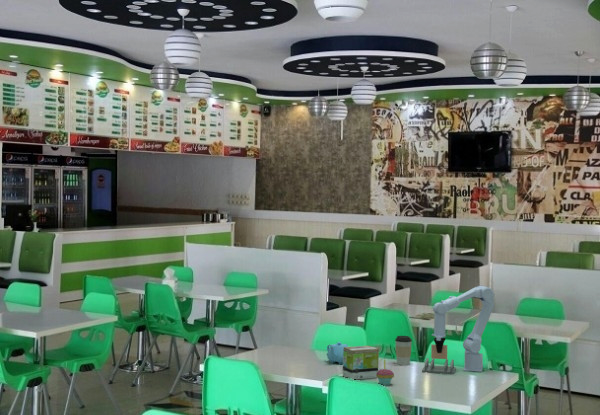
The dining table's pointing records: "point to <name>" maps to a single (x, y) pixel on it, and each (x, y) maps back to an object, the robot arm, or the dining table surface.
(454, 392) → the dining table surface
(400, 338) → the coffee cup
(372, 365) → the tea box
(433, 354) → the tall tan block
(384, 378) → the cupcake
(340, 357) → the teapot
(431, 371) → the dish rack
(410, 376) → the dining table surface
